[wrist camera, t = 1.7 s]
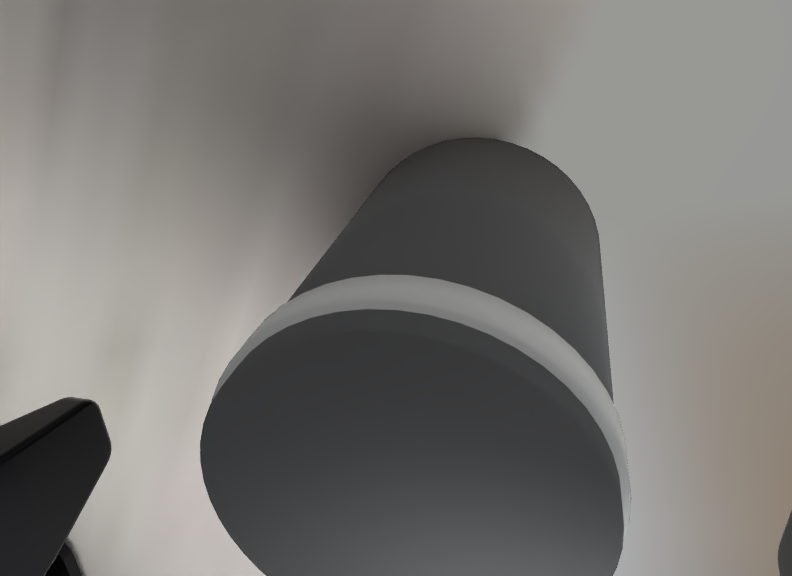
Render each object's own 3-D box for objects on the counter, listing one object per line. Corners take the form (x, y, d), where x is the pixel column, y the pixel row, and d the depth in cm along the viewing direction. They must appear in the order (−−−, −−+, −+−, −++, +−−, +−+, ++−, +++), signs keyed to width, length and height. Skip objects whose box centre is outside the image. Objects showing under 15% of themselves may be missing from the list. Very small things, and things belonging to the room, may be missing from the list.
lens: (590, 370, 14) (604, 690, 8) (364, 347, 15) (230, 610, 9) (621, 135, 12) (673, 348, 6) (347, 130, 13) (150, 300, 7)
